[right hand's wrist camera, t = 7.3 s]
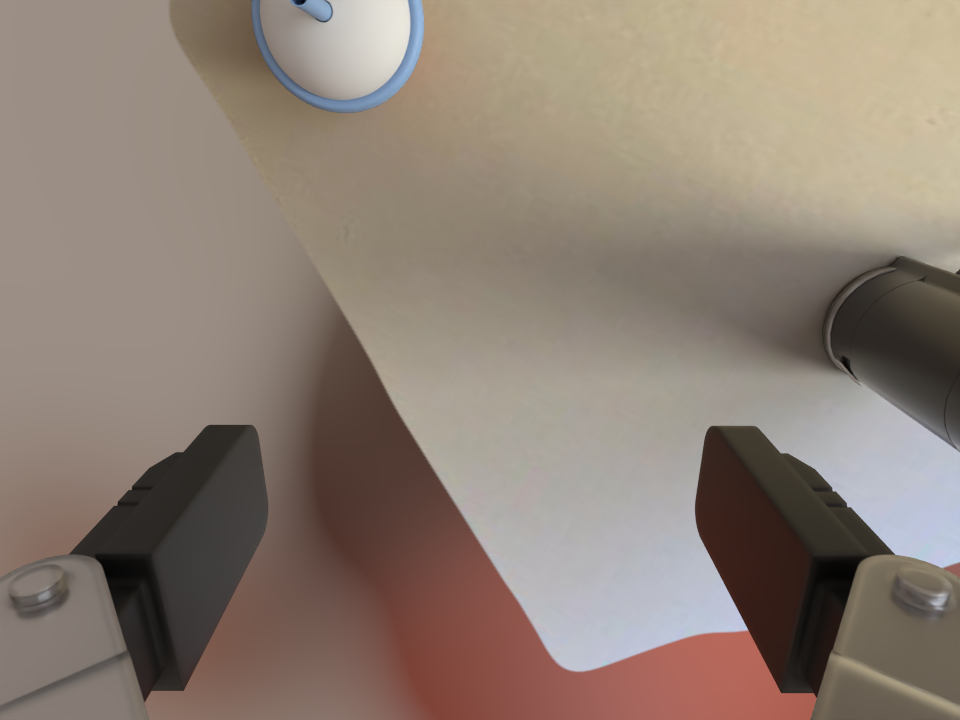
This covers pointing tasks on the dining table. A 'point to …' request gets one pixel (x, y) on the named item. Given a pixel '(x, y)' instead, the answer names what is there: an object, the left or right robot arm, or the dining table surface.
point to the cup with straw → (340, 48)
